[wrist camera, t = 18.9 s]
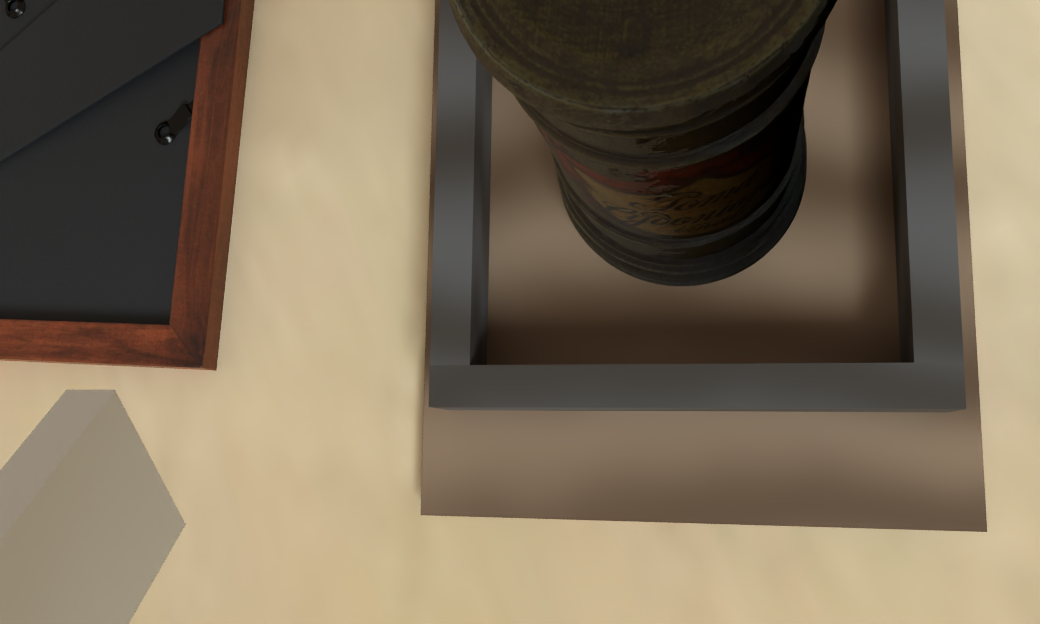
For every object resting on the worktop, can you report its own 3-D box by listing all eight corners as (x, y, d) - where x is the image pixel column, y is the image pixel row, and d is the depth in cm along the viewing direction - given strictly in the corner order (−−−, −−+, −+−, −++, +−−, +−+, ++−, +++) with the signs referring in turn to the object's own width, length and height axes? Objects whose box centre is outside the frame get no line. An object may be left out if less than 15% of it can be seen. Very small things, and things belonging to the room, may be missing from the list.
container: (529, 124, 38) (356, -160, 20) (740, 21, 36) (750, -376, 19) (620, 329, 36) (514, 210, 18) (846, 228, 34) (966, -5, 17)
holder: (978, 529, 33) (1008, 537, 30) (430, 513, 37) (398, 519, 34) (940, -155, 37) (963, -220, 33) (447, -98, 41) (419, -151, 38)
